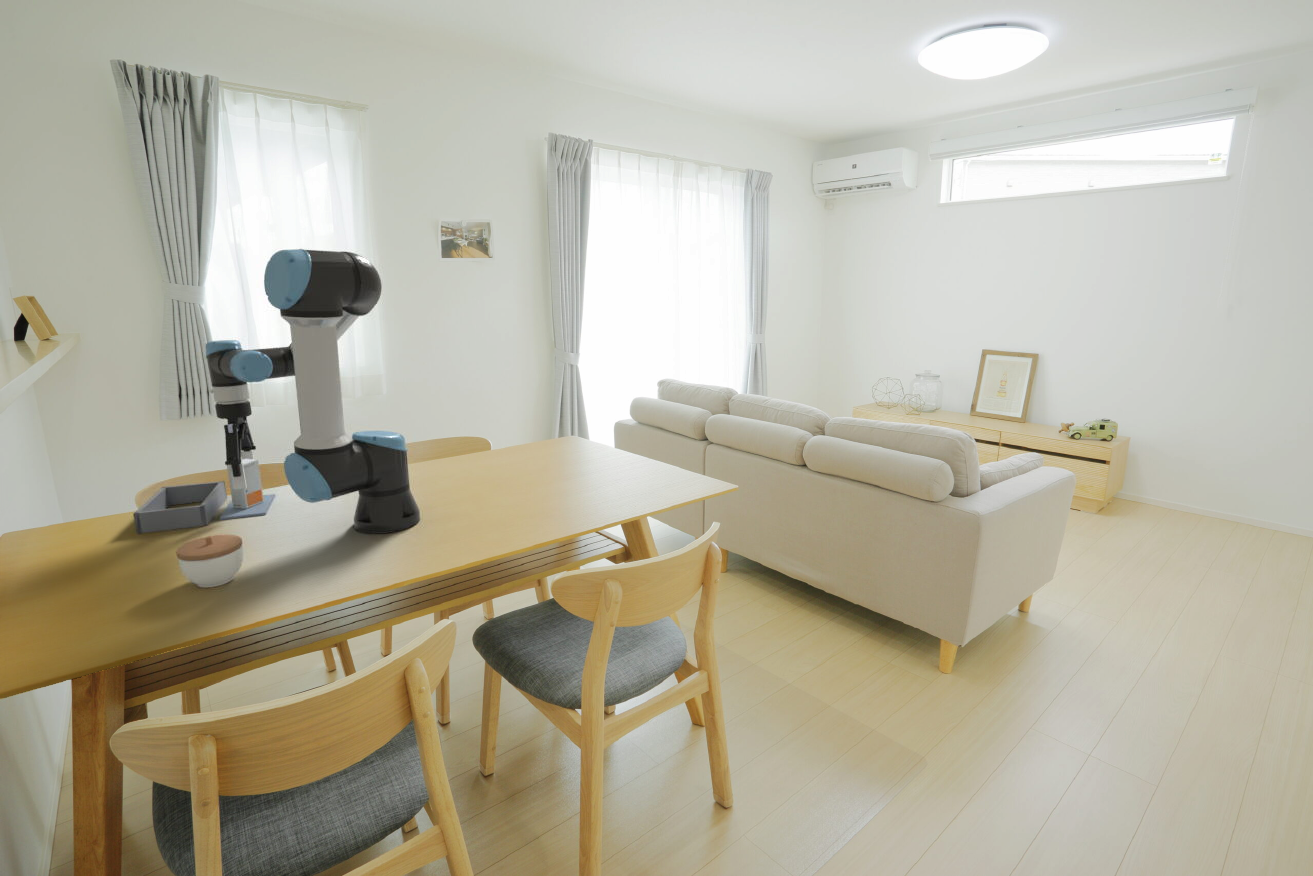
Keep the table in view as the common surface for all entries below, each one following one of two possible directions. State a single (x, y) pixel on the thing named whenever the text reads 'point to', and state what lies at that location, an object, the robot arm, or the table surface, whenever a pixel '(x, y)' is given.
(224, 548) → the lidded jar
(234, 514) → the board
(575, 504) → the table surface
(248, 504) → the skincare box
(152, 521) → the parts bin
